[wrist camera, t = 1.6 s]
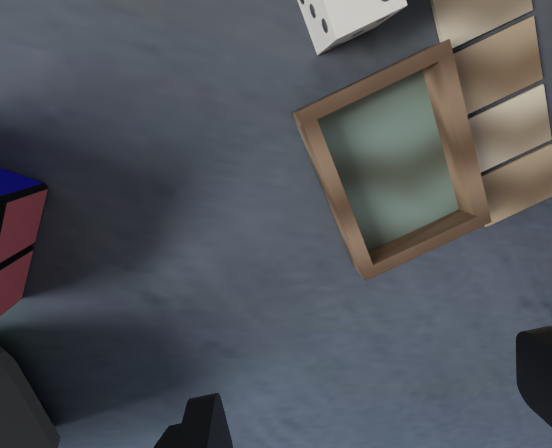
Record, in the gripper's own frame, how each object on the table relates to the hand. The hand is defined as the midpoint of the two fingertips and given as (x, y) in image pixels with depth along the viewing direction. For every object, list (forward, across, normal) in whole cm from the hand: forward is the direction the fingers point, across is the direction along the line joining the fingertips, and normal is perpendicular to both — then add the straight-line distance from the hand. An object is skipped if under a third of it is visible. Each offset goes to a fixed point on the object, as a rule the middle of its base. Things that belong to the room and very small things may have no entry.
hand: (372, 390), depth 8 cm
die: (+17, -5, -15) cm, 24 cm away
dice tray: (+18, -8, -4) cm, 21 cm away
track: (+18, -18, -7) cm, 27 cm away
